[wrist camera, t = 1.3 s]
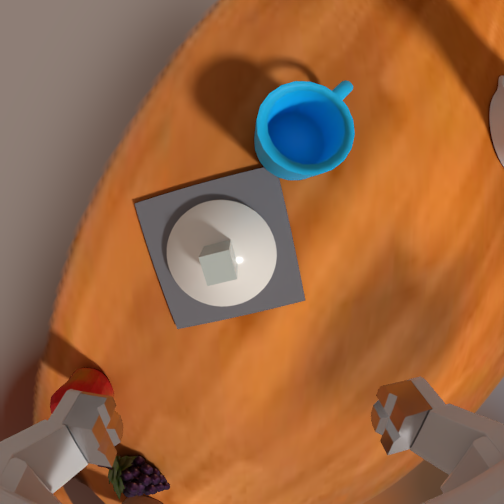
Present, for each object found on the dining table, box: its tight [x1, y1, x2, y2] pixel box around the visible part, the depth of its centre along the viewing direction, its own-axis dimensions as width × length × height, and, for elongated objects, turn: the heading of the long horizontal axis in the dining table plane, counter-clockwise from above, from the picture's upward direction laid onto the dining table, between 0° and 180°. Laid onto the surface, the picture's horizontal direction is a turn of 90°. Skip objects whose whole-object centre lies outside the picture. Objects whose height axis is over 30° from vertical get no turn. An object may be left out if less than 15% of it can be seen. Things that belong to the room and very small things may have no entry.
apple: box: [50, 368, 114, 413], centre depth 33 cm, size 9×8×12 cm
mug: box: [254, 80, 355, 180], centre depth 26 cm, size 12×8×8 cm
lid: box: [167, 199, 277, 307], centre depth 31 cm, size 12×12×5 cm
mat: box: [135, 167, 305, 329], centre depth 34 cm, size 16×16×1 cm
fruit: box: [98, 456, 170, 500], centre depth 41 cm, size 10×11×15 cm
